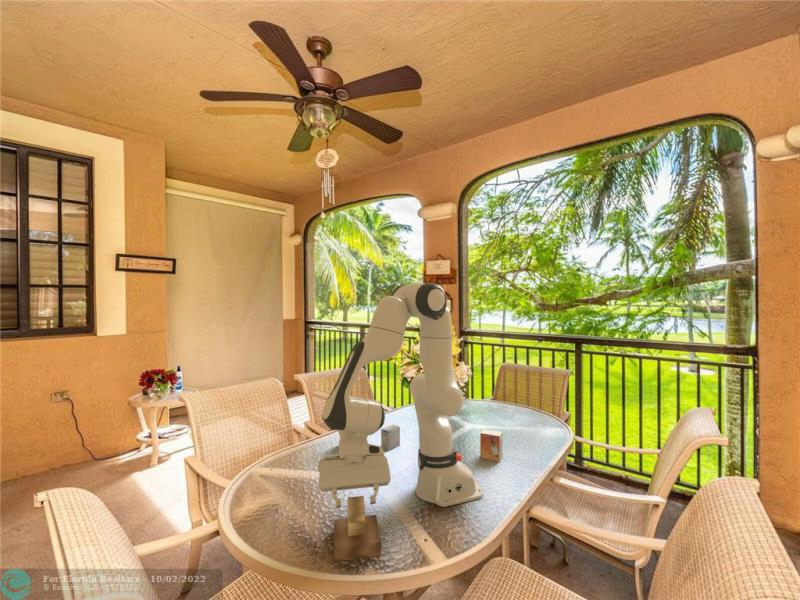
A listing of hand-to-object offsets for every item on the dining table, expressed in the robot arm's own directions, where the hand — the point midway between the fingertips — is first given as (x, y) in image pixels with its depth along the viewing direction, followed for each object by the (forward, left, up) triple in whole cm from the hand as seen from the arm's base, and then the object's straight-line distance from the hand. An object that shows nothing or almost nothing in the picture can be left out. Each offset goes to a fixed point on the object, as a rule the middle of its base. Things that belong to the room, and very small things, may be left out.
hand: (355, 505), depth 100 cm
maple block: (0, 0, -7) cm, 7 cm away
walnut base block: (0, 0, -11) cm, 11 cm away
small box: (-57, -42, -10) cm, 71 cm away
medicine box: (-18, -61, -10) cm, 64 cm away
